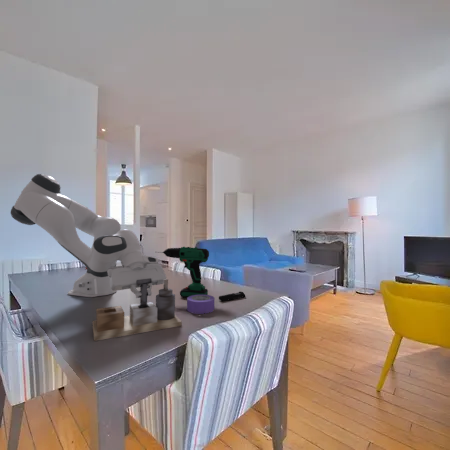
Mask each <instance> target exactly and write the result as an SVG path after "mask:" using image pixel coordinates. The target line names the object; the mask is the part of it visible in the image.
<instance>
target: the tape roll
mask: <svg viewBox="0 0 450 450" xmlns="http://www.w3.org/2000/svg"><path fill="white" fill-rule="evenodd" d="M215 300H216V299H215V297H214V296H213V295H211V294H208V295H192V296H189V297H188V298H186V302H187V303H186V311H187V312H188V313H191V314H196V315H197V314H199V315H200V314H201V315H202V314H203V315H205V314H210V313H212V312H214V311H215V302H216V301H215ZM213 310H214V311H213ZM209 312H210V313H209ZM204 313H205V314H204Z"/></svg>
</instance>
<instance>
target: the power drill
mask: <svg viewBox="0 0 450 450" xmlns="http://www.w3.org/2000/svg"><path fill="white" fill-rule="evenodd" d="M156 253H161V254H163V255H165V257H167V258H173V259H179V261H180V262H181V263H182V262H183V263H184V267H183V268H184V269H187V270H188V271H189V275H190V277H191V281H192V283H190V284H189V285H187V287H184V288H182V289H181V290H180V291H179V296H180V297H181V298H185V299H187V298H188V297H189V296H192V295H209V294H208V291H209V290H208V289H207V288H206V286H205V285H204V284H203V283H202V273H201V268H200V264H202V263H207V262H208V259H209V258H210V257H209V256H210V251H209V250H208V249H206V248H201V247H197V246H195V247H191V246H187V247H186V246H181V247H170V248H166V249H165V250H164V251H156Z"/></svg>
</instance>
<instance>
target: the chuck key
mask: <svg viewBox="0 0 450 450" xmlns="http://www.w3.org/2000/svg"><path fill="white" fill-rule="evenodd" d="M149 283H152V279H151V278H149V279H141V280H137V281H136V284H137V285H140V287H139V288H140V289H139V291H141V294H142V296H141V297H140V298H139V304H140V308H147V303H148V296H147V290H148V288H147V285H148V284H149Z"/></svg>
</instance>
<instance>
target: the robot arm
mask: <svg viewBox="0 0 450 450" xmlns="http://www.w3.org/2000/svg"><path fill="white" fill-rule="evenodd" d="M10 215H11V217H12V218H13V220H15V221H17V222H18V223H20V224H23V225H27V226H33V225H37V226H39V227H40V228H42V229H43V230H44V231H45V232H47V233H48V234H49V235H50V236H51V237H52V238H53V239H54V240H55V241H56V242H57V243H58V244H59V245H60V246H61V247H62V248H63V249H64V250H65V251H67V252H68V253H69V254H70V255H72V256H73V257H74V258H75V259H77V260H78V261H79V262H81V263H82V264H83V265H84V266H85V267H84V270H85V271H86V272H85V273H84V274H82V275H81V276H79V278H77V279H76V280H75V281H74V283H73V287H72V289H70V290H69V291H68V292H67V295H69V296H78V297H84V298H85V297H86V298H97V297H100V296H107V295H112V294H114V293H117V291H123V290H130V291H131V293H133V294H134V295H135V298H136V299H140V297H141V296H142V294H141V291H140V290H138V289H137V288H140V285H137V284H136V281H137V280H141V279H149V278H151V279H152V283H149V284H148V285H147V297H151V296H152V294H153V291H152V287H153V286H158V285H164V279H167V275H166V273H165V269H164V268H163V266H162V265H161V264H160V263H159V259H158V258H157V257H154V256H148V255H146V254H145V253H143V251H142V246H141V243H140V240H139V238H138V237H137V235H136V234H135V232H133V231H132V230H130V229H122V227H121V223H120V222H119V221H118V220H117V219H115V218H114V217H111V216H101V215H99V214H97V213H96V212H94V211H92V210H91V209H89V208H88V207H87V206H85V205H84V204H81V203H79V202H78V201H76V200H74V199H72V198H70V197H68V196H66V195H63V194H61V185H60V183H59V182H58V181H57V179H55V178H54V177H52V176H51V175H48V174H43V173H38V174H37V173H36V175H34V176H33V177H32V178H31V180H30V181H29V182H28V183H27V184H26V186H25V187H24V188H22V190H21V193H20V194H19V195H18V198H16V202H14V205H12V207H11V209H10ZM77 229H78V230H80V231H81V232H84V233H85V234H86V235H87V234H88V235H89V236H91V237H93V242H92V246H91V247H90V246H89V245H87V244H86V243H85V242H83V240H81V238H80V237H79V233H78V231H77ZM117 261H119V262H120V264H121V265H118V266H117Z"/></svg>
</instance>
